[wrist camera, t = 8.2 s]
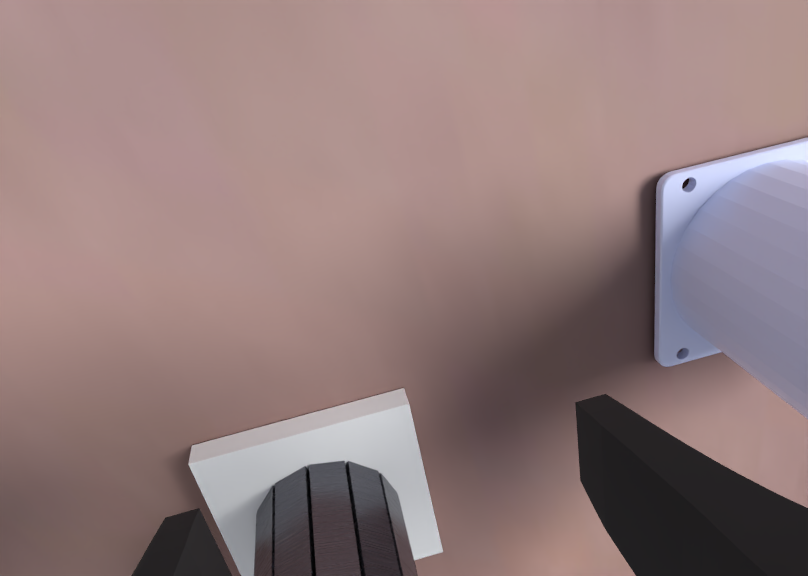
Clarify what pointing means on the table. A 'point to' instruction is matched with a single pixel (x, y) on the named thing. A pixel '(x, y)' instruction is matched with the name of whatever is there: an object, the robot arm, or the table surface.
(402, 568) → the gray grooved hollow cylinder
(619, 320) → the table surface
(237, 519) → the white square peg stand
